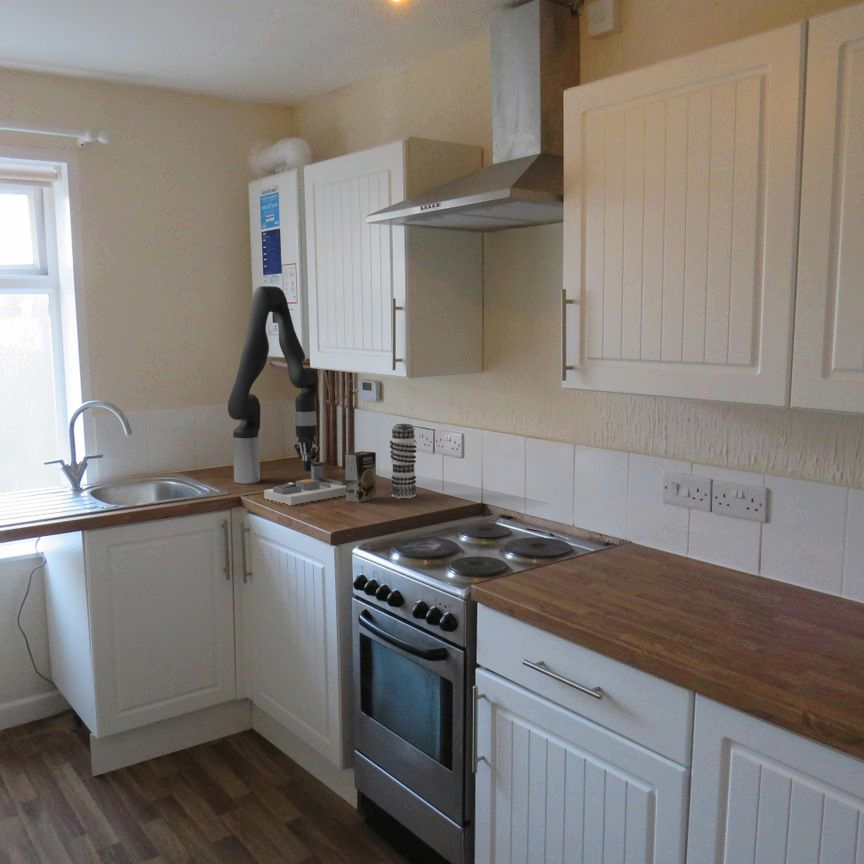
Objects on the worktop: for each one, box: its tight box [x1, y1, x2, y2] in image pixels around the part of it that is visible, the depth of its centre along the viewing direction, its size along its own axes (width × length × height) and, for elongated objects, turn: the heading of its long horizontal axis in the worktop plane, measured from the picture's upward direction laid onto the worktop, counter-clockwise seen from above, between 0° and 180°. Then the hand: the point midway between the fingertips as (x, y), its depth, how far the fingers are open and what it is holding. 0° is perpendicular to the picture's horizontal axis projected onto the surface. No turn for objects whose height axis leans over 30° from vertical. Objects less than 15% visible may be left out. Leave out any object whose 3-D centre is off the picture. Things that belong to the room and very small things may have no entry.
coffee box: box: [344, 450, 377, 504], centre depth 289 cm, size 9×6×16 cm
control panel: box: [263, 477, 346, 506], centre depth 295 cm, size 16×25×6 cm, turn 134°
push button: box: [298, 478, 315, 483], centre depth 295 cm, size 4×4×2 cm
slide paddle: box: [310, 461, 325, 482], centre depth 305 cm, size 2×4×7 cm, turn 134°
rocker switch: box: [277, 482, 296, 489], centre depth 289 cm, size 4×5×1 cm
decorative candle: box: [389, 423, 417, 499], centre depth 294 cm, size 9×9×25 cm
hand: (307, 471), depth 309 cm, fingers closed
